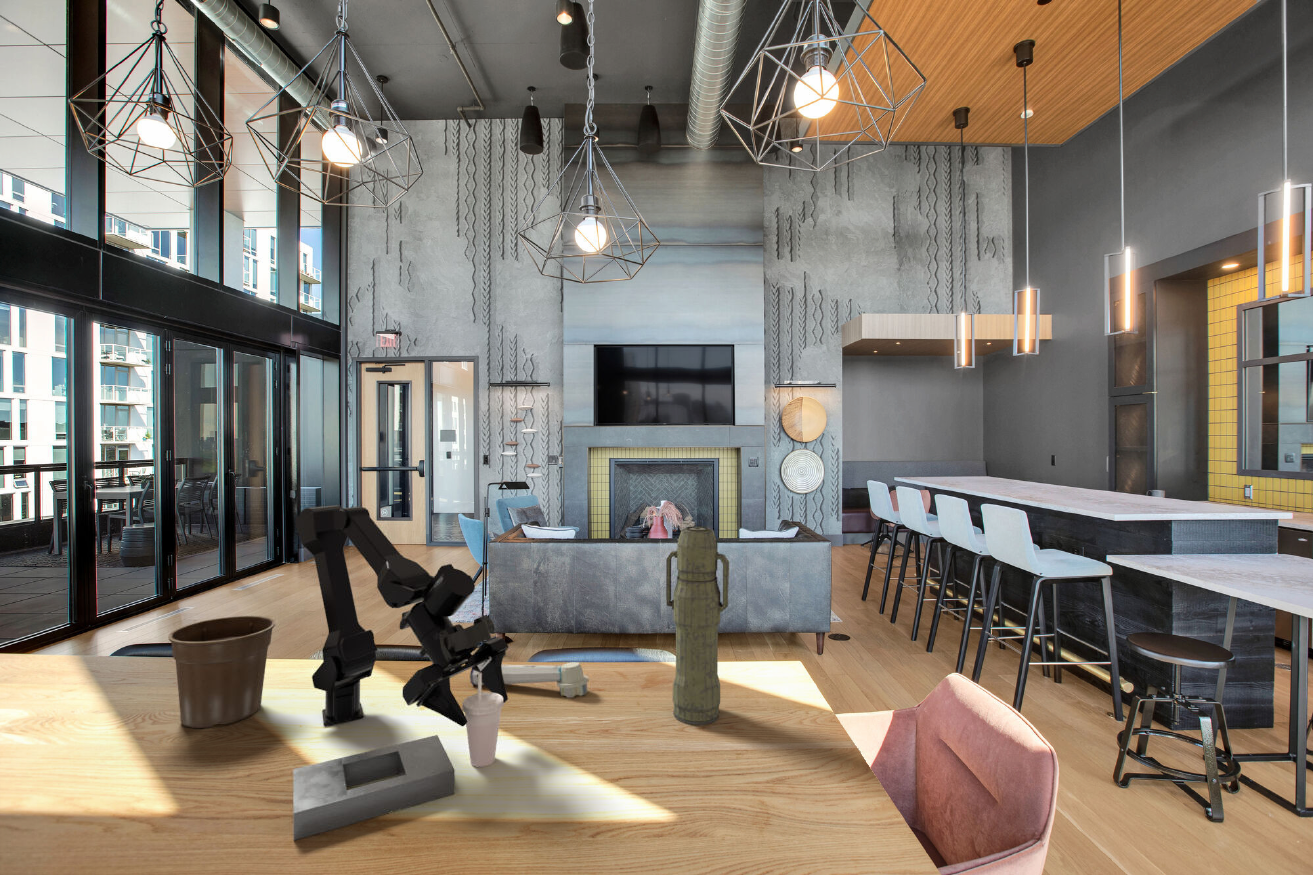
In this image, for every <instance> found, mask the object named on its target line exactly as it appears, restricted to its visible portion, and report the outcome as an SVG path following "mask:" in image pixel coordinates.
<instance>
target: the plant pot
mask: <svg viewBox="0 0 1313 875" xmlns="http://www.w3.org/2000/svg"><path fill="white" fill-rule="evenodd" d="M275 626H276V621H275V619H274V618H272V617H267V616H262V615H237V616H236V615H235V616H226V617H219V618H212V619H210V618H209V619H205V620H202V621H201V620H200V621H197V622H194V623H190V624H187V625H185V626H182V627H178V628H176V629H175V630H173V631H171V632H170V633H169V634H168V635H167V638H168V641H169V642H170V643H171V648H172V649H171V650H172V657H173V658H172V659H174V660H175V669H176V680H177V690H178V691H177V692H178V701H179V702H178V704H179V705H178V706H179V713H180V714H179V716H180V717H179V718H180V723H181V724H182V725H183V726H185V727H189V728H193V729H206V728H207V729H208V728H212V727H214V726H215V725H219V724H222V725H224V726H227V725H230V724H233V723H236V722H239V721H242V720H244V719H246V718H247V719H248V718H249V717H251V716H252V715H254V714H256V713H257V712H258V711H259V709H260V708H261V705H262V700H263V699H262V697H263V692H264V691H263V689H264V683H265V674H266V665H267V658H268V648H269V646H270V645H271V642H272V641H271V640H272V635H273V634H272V633H273V629H274V628H275Z"/></svg>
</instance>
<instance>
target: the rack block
mask: <svg viewBox="0 0 1313 875" xmlns="http://www.w3.org/2000/svg"><path fill="white" fill-rule="evenodd" d="M292 773H293V774H292V775H293V776H292V777H293V778H292V786H293V787H292V798H293V799H292V804H293V805H292V811H293V813H292V814H293V815H292V816H293V818H292V820H293V822H292V823H293V827H292V829H293V834H292V836H293V837H292V839H293V841H297V840H301V839H304V838H307V837H310V836H314V835H318V834H322V833H324V832H327V831H328V832H329V831H332V830H335V829H339V828H342V827H345V826H348V825H352V824H357V823H359V822H362V821H366V820H369V819H372V818H377V817H380V816H382V815H383V814H384V815H387V814H390V813H389V812H391V811H394V812H397V811H400V810H399V809H401V810H403V809H407V807H408V808H411V807H414V806H417V805H421V804H424V803H428V802H430V801H431V802H432V801H435V800H438V799H442V798H445V797H450V796H452V795H455V777H456V776H455V773H456V770H455V767H454V765H453V764H452V761H451V759H450V757H449V756H448V754H447V751H446V750H445V748H444V745H443V744H442V742H441V740H440V737H439V735H438V734H435V735H432V736H428V737H424V738H423V737H422V738H419V739H415V740H411V741H407V742H402V743H401V742H400V743H397V744H394V745H389V746H385V747H382V748H378V749H377V748H376V749H372V750H368V751H364V752H360V753H356V754H351V755H347V756H343V757H340V758H339V757H338V758H336V759H329V760H326V761H322V762H318V763H315V764H309V765H306V766H301V767H296V768H293V769H292ZM395 775H397V776H395ZM391 776H395V777H392V778H388V777H391ZM384 778H388V779H384ZM380 779H384V780H380ZM377 780H380V781H377ZM371 781H372V783H369V784H366V785H362V786H359V787H354V788H351V789H347V788H349V787H353V786H356V785H360V784H364V783H367V782H371ZM373 781H377V782H373ZM396 810H397V811H396ZM386 813H387V814H386ZM391 813H392V812H391ZM384 815H383V816H384Z"/></svg>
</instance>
